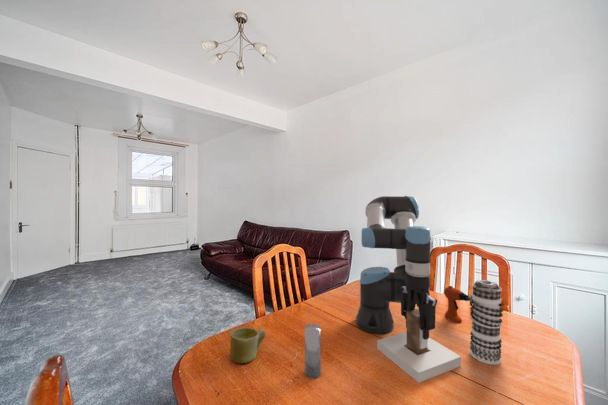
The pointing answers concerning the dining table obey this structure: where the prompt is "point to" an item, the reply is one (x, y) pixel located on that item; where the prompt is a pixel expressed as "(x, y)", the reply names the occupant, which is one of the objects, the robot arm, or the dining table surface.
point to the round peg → (312, 350)
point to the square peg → (414, 332)
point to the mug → (245, 344)
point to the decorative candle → (486, 322)
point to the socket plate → (419, 357)
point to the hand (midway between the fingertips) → (416, 343)
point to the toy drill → (454, 303)
